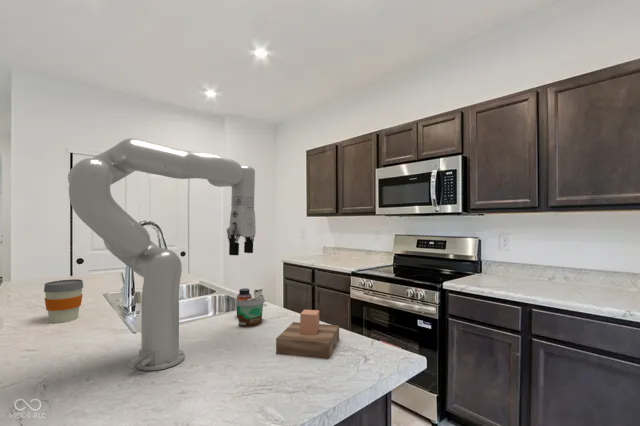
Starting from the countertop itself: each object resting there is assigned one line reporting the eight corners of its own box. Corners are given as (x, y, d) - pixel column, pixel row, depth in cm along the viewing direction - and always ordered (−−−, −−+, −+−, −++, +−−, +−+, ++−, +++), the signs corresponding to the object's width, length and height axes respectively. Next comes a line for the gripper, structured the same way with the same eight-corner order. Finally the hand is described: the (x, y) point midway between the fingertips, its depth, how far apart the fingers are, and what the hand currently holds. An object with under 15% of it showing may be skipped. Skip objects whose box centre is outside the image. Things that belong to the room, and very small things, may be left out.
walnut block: (328, 360, 94) (328, 343, 94) (276, 355, 98) (276, 338, 98) (339, 340, 110) (339, 325, 110) (293, 336, 114) (293, 322, 114)
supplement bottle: (244, 320, 131) (244, 291, 131) (233, 317, 134) (233, 289, 134) (254, 316, 136) (254, 288, 136) (244, 314, 139) (244, 287, 139)
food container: (246, 330, 119) (246, 302, 119) (235, 327, 122) (235, 300, 123) (271, 321, 128) (271, 296, 129) (260, 319, 132) (260, 293, 132)
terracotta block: (316, 334, 101) (316, 314, 101) (300, 333, 102) (300, 313, 102) (319, 329, 106) (319, 310, 106) (304, 328, 107) (304, 309, 107)
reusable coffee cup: (88, 318, 134) (89, 281, 135) (51, 326, 124) (51, 286, 124) (75, 313, 141) (75, 278, 141) (38, 321, 130) (38, 283, 131)
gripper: (239, 201, 102) (238, 256, 102) (264, 204, 119) (263, 252, 118) (218, 201, 104) (216, 255, 104) (245, 204, 121) (244, 251, 120)
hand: (241, 254), depth 111 cm, fingers open, 9 cm apart
